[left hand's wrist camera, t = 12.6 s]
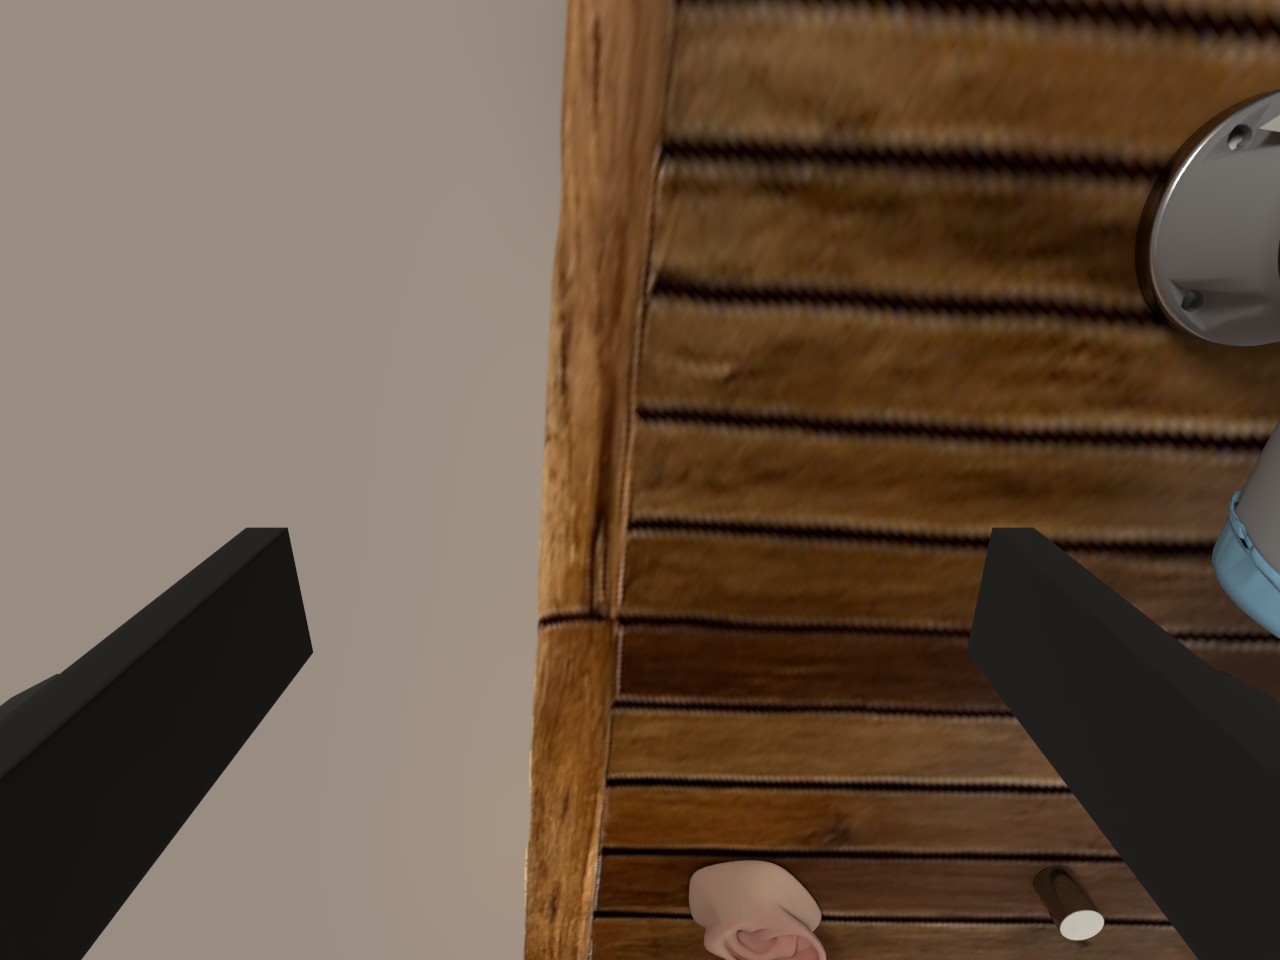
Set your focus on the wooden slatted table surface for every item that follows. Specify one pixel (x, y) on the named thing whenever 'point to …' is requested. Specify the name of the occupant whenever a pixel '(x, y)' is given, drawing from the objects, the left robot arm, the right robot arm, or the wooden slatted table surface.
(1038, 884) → the tin
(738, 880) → the anatomical model
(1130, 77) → the wooden slatted table surface
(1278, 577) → the left robot arm
